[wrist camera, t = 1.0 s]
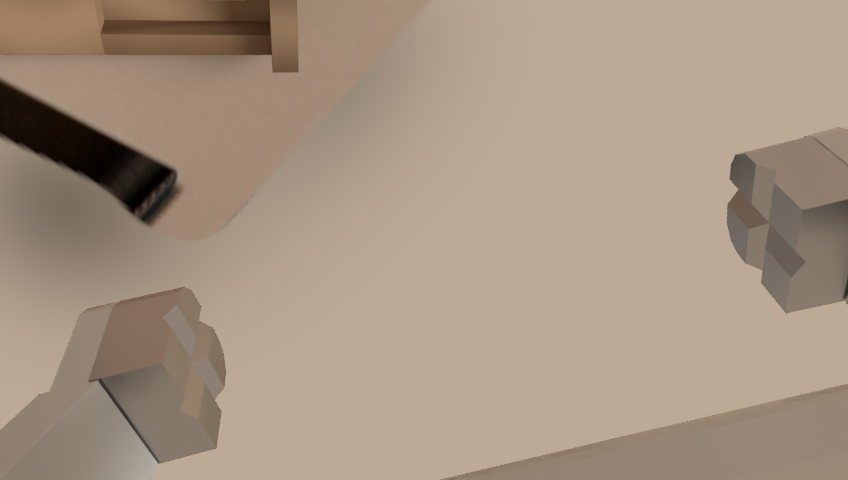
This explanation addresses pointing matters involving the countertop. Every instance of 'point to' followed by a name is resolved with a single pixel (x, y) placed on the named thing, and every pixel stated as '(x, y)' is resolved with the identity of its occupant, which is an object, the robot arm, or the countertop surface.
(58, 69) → the countertop surface
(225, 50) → the rail
